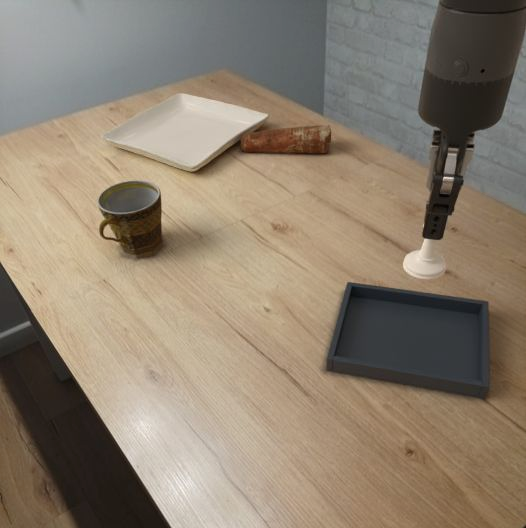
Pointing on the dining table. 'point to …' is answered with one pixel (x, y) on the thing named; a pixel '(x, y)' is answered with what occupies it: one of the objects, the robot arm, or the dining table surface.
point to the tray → (412, 339)
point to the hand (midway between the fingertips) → (432, 230)
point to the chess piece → (425, 262)
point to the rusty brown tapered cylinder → (288, 140)
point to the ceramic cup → (133, 217)
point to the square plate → (185, 130)
